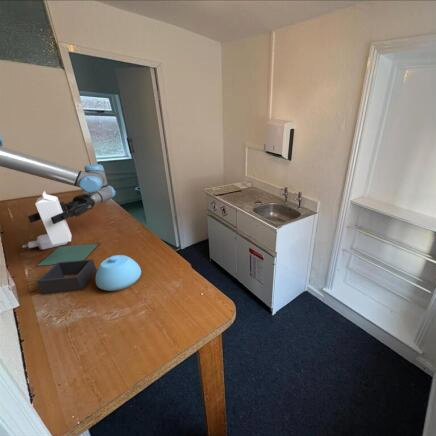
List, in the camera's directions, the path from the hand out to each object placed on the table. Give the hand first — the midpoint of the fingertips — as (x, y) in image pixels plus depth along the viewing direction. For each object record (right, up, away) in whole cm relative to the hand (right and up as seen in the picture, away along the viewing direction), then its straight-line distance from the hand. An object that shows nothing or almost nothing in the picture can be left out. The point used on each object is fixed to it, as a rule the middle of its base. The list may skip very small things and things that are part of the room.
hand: (41, 220), depth 93 cm
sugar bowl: (+30, -25, +2) cm, 39 cm away
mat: (-4, -16, +16) cm, 24 cm away
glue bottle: (-21, -13, +22) cm, 33 cm away
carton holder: (+12, -25, 0) cm, 28 cm away
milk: (-1, -9, +9) cm, 13 cm away
